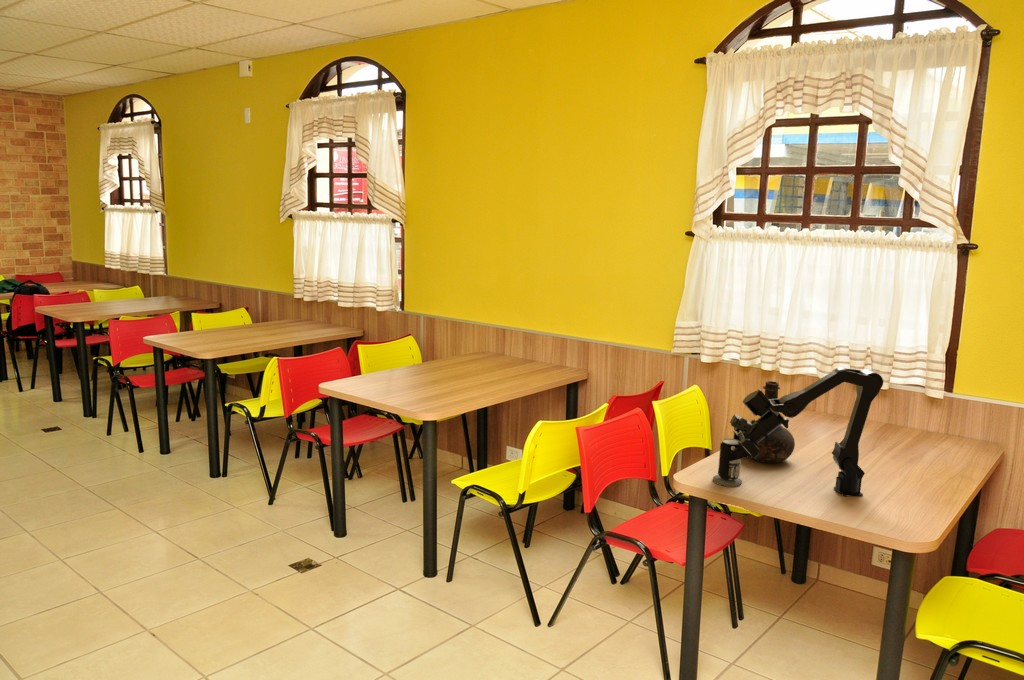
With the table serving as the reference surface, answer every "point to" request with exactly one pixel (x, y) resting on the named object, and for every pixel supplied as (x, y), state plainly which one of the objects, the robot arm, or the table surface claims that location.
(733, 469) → the beverage can
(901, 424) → the table surface
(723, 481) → the coaster
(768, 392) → the brown vase
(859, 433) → the robot arm
